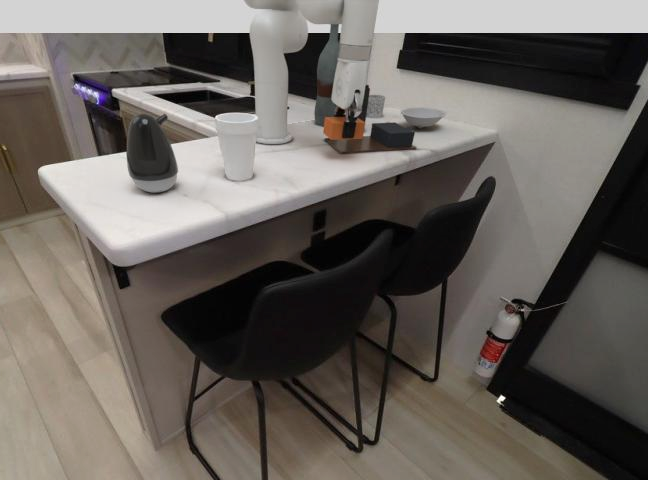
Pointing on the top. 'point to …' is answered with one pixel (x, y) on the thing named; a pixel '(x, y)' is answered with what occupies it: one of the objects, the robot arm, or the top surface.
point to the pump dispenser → (150, 154)
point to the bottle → (326, 77)
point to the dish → (422, 116)
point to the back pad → (392, 135)
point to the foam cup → (237, 143)
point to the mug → (375, 106)
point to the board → (362, 145)
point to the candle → (365, 101)
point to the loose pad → (341, 128)
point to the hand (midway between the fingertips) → (343, 133)
